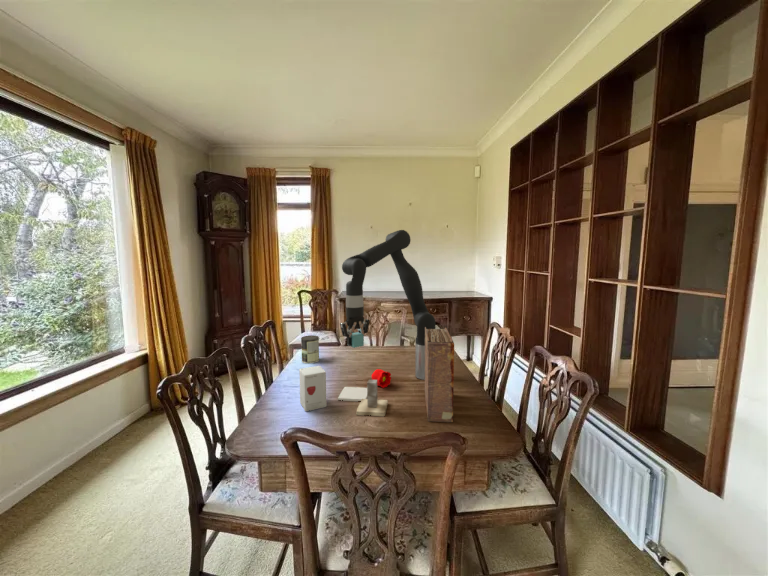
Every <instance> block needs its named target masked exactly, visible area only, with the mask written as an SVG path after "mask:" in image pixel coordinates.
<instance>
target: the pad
mask: <svg viewBox="0 0 768 576" xmlns="http://www.w3.org/2000/svg"><path fill="white" fill-rule="evenodd" d="M361 399H367V387H357V386H344V387H343V389H342V390H341V391H340V394H339V395H338V397H337V401H338V400H341V401H340V402H358V401H361ZM342 400H343V401H342Z"/></svg>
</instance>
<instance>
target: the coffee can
mask: <svg viewBox="0 0 768 576" xmlns="http://www.w3.org/2000/svg"><path fill="white" fill-rule="evenodd" d="M319 339H320V337H319V336H318V335H304V336H302V337H300V340H301V341H300V343H301V363H303V364H314V363H318V362H319V361H320V340H319Z"/></svg>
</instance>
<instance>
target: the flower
mask: <svg viewBox="0 0 768 576" xmlns="http://www.w3.org/2000/svg"><path fill="white" fill-rule="evenodd" d="M391 376H392V374H391V372H389V371H385V370H383V369H381V368H377V369H375V370H374V371H373V373H372V374H371V380H377V387H378V386H379V387H381V388H382V389H384V388H387V387H388V386H389V385H391V380H392V377H391Z"/></svg>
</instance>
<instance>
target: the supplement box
mask: <svg viewBox="0 0 768 576" xmlns="http://www.w3.org/2000/svg"><path fill="white" fill-rule="evenodd" d="M299 402H300V405H301V406H302V408H303V410H304V412H310V411H313V410H317V409H318V410H319V409H323V408H327V372H326V371H325V369H324V368H323V367H322V366H321V365H316V366H315V365H314V366H310V367H309V366H308V367H303V368H299ZM309 410H310V411H309Z"/></svg>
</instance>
